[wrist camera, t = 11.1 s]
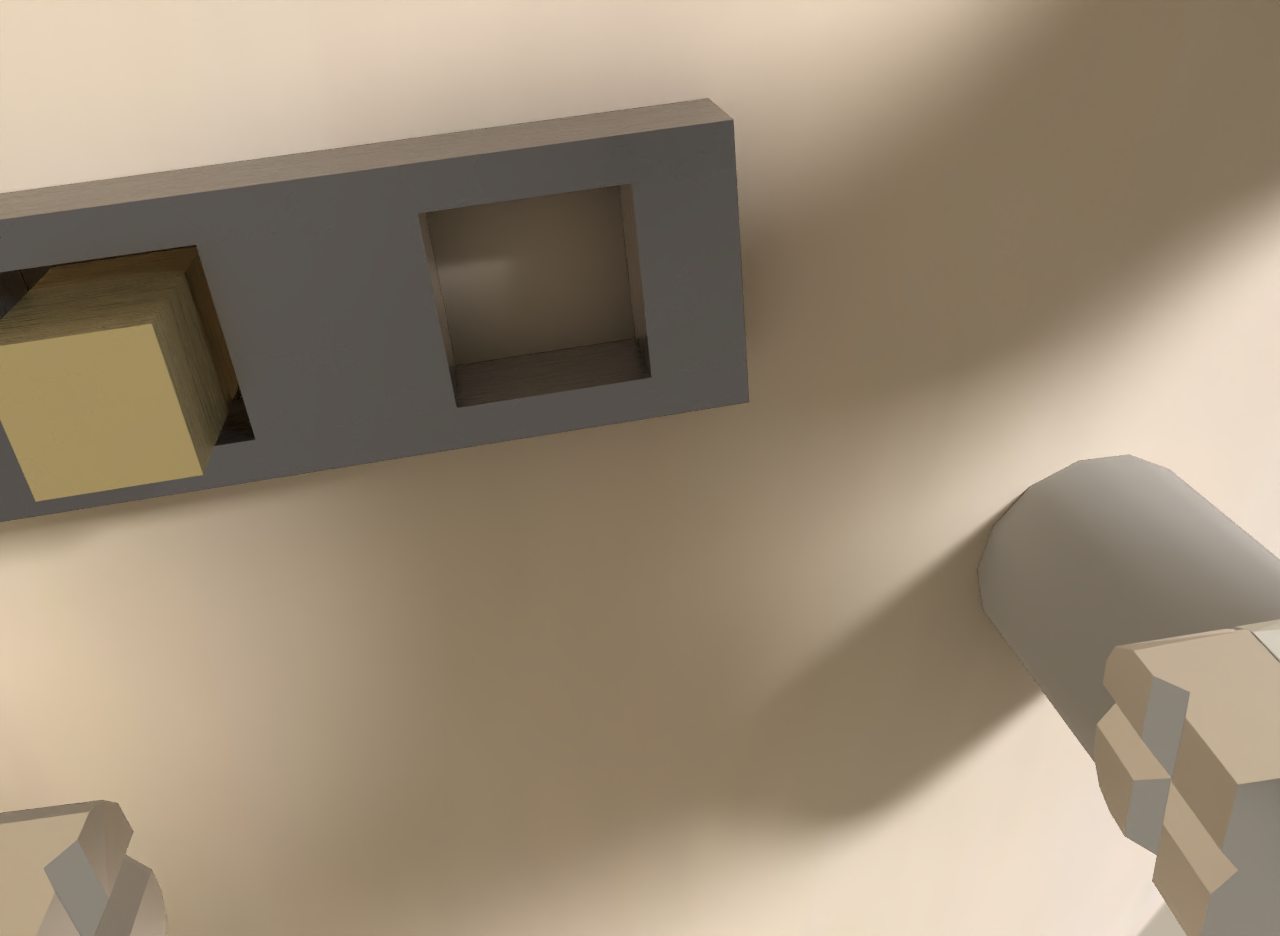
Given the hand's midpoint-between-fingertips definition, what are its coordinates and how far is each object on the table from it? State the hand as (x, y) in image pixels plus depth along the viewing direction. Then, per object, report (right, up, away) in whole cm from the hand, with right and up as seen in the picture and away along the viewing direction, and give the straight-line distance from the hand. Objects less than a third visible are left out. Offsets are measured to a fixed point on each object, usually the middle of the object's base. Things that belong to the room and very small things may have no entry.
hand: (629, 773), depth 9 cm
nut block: (-14, +7, +22) cm, 27 cm away
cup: (+16, -1, +32) cm, 36 cm away
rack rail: (-8, +8, +22) cm, 25 cm away
